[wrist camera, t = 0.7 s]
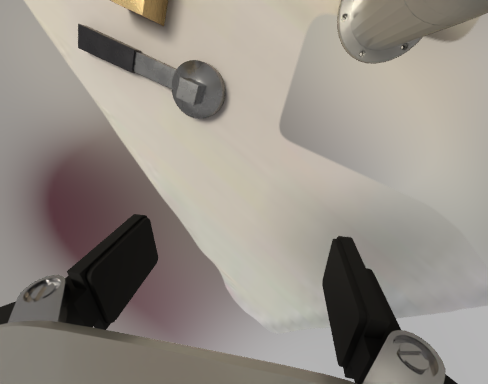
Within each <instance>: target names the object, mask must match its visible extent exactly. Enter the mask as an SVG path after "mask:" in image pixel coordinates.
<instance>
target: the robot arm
mask: <svg viewBox="0 0 488 384" xmlns="http://www.w3.org/2000/svg"><path fill="white" fill-rule="evenodd" d="M486 13H488V0H341V3H340V6H339V11H338V17H337V20H338V21H337V23H338V24H337V28H338V34H339V38H340V41H341V44H342V46H343V47H344V49H345V50H346V52H347V53H348V54H349V55H351V56H352V57H353V58H355V59H356V60H358V61H361V62H365V63H381V62H386V61H389V60H392V59H394V58H397V57H399V56H401V55H402V54H404V53H405V52H407V51H408V50H410V49H411V48H412V47H413V46H414V45H416V44H417V43H418V42H419V40H420V39H421V38H422V37H423V36H426V35H429V34H432V33H434V32H437V31H440V30H443V29H446V28H449V27H451V26H454V25H457V24H460V23H463V22H465V21H468V20H470V19H473V18H476V17H479V16H481V15H483V14H486ZM342 17H344V18H345V21H342ZM401 46H403V49H401ZM360 52H362V56H360V55H359V54H360ZM157 261H158V254H157V250H156V245H155V241H154V236H153V232H152V227H151V223H150V220H149V219H148V218H147V216H145V215H137V214H134V215H133V216H131V217H130V218H129V219H128V220H127V221H126V222H124V223H123V224H122V225H121V226H120V227H118V228H117V229H116V230H115V231H114V232H113V233H111V234H110V235H109V236H108V237H107V238H106V239H104V240H103V241H102V242H101V243H100V244H98V245H97V246H96V247H95V248H94V249H93V250H91V251H90V252H89V253H88V254H87V255H86V256H85V257H83V258H82V259H81V260H80V261H79V262H77V263H76V264H75V265H74V266H73V267H72V268H70V269H69V270H68V271H67V273H68V275H69V276H68V277H67V278H64V277H63V276H60V275H52V276H48V277H44V278H42V279H39V280H37V281H35V282H34V283H32V284H30V285H29V286H28V287H26V288H25V289H24V290H23V291H22V292H21V293H20V295H19V296H18V298H17V301H16V302H13V303H11V304H8V305H5V306H2V307H0V384H457V383H456V382H455V381H453V380H452V379H451V378H450V377H448V376H447V375H446V374H445V367H444V364H443V361H442V360H441V358H440V357H439V355H438V354H437V352H436V351H435V350H434V349H433V348H432V347H431V346H430V345H429V344H428V343H427V342H426V341H424V340H423V339H422V338H420V337H418V336H416V335H415V334H413V333H410V332H407V331H402V330H401V329H400V327H399V324H398V323H397V321H396V318H395V316H394V314H393V312H392V310H391V308H390V306H389V304H388V302H387V300H386V298H385V296H384V293H383V291H382V289H381V287H380V285H379V283H378V281H377V279H376V277H375V275H374V273H373V271H372V270H371V269H366V268H365V265H364V263H363V261H362V259H361V257H360V254H359V252H358V250H357V248H356V246H355V243H354V241H353V239H352V238H351V237H342V236H338V237H337V239H333V241H332V245H331V249H330V253H329V257H328V261H327V265H326V269H325V273H324V277H323V290H324V295H325V301H326V306H327V311H328V316H329V321H330V326H331V331H332V335H333V341H334V346H335V351H336V356H337V361H338V365H339V366H341V367H343V368H344V374H345V377H347V378H352V379H354V381H355V383H354V382H351V381H348V380H344V379H340V378H336V377H333V376H330V375H326V374H321V373H317V372H312V371H308V370H304V369H299V368H295V367H290V366H286V365H281V364H276V363H271V362H266V361H261V360H256V359H251V358H246V357H242V356H236V355H231V354H226V353H222V352H216V351H212V350H207V349H201V348H196V347H191V346H186V345H181V344H176V343H171V342H166V341H161V340H155V339H150V338H145V337H140V336H135V335H129V334H124V333H119V332H114V331H108V330H106V329H107V328H108V326H109V325H110V324H111V323H112V322H114V321H115V320H116V319H117V318H118V316H119V315H120V313H121V312H122V311H123V309H124V308H125V306H126V305H127V304H128V302H129V301H130V300H131V298H132V297H133V295H134V294H135V293H136V291H137V289H138V288H139V287H140V286H141V284H142V283H143V281H144V280H145V279H146V277H147V276H148V274H149V273H150V272H151V270H152V269H153V268H154V266H155V265H156V263H157ZM93 326H94V327H95V328H92V327H93Z"/></svg>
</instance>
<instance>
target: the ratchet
mask: <svg viewBox="0 0 488 384" xmlns="http://www.w3.org/2000/svg"><path fill="white" fill-rule="evenodd" d="M78 48H79V49H82V50H84V51H86V52H88V53H90V54H93V55H95V56H97V57H99V58H101V59H103V60H106V61H108V62H110V63H112V64H114V65H116V66H119V67H121V68H123V69H125V70H127V71H130V72H132V73H138V74H140V75H142V76H144V77H147V78H149V79H151V80H153V81H155V82H157V83H160V84H162V85H164V86H166V87H168V88H170V89H172V94H173V98H174V100H175V102H176V104H177V106H178V107H179V108H180V109H181V111H183V112H184V113H185V114H186V115H188V116H190V117H193V118H206V117H208V116H211V115H213V114H215V113H216V112H217V111H218V110H219V109H220V108H221V106H222V104H223V102H224V99H225V85H224V81H223V79H222V77H221V75H220V73H219V72H218V71H217V70H216V69H215V68H214V67H213V66H211V65H210V64H207V63H205V62H201V61H197V60H191V61H187V62H185V63H183V64H181V65H180V66H179V67H178V68H177V69H176V68H173V67H171V66H169V65H167V64H165V63H163V62H160V61H158V60H156V59H154V58H152V57H150V56H148V55H145V54H143V53H141V51H140V50H137V49H135V48H133V47H131V46H129V45H127V44H125V43H122V42H120V41H118V40H116V39H114V38H112V37H109V36H107V35H105V34H103V33H101V32H99V31H97V30H94V29H92V28H90V27H88V26H84V25H81V24H78Z"/></svg>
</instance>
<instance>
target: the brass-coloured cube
mask: <svg viewBox="0 0 488 384" xmlns="http://www.w3.org/2000/svg"><path fill="white" fill-rule="evenodd" d="M110 1H112V2H114V3H116V4H118V5H120V6H122V7H124V8H127V9H129V10H131V11H133V12H135V13H137V14H139V15H141V16H143V17H146V18H148V19H150V20H152V21H154V22H156V23H158V24H161V25H163V26H164V22H165V16H166V10H167V4H168V0H110Z"/></svg>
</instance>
